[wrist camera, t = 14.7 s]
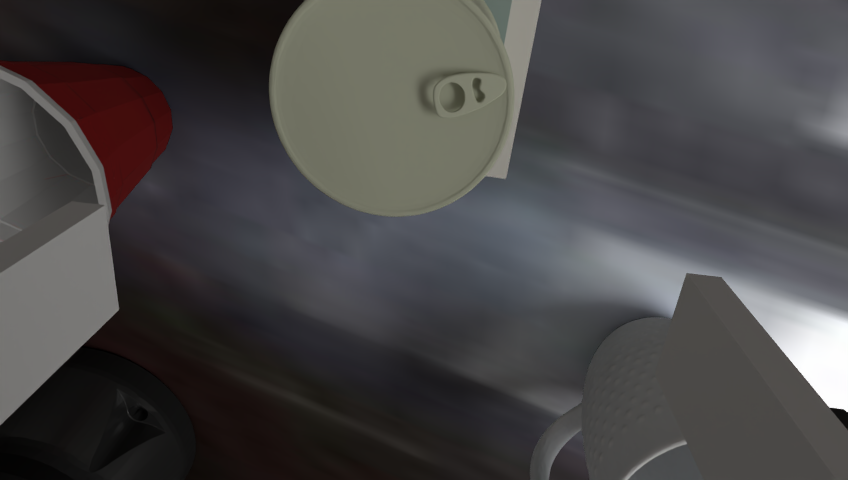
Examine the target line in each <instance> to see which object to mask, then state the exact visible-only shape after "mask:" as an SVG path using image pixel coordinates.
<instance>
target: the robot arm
mask: <svg viewBox="0 0 848 480" xmlns="http://www.w3.org/2000/svg"><path fill="white" fill-rule="evenodd" d="M118 310H119V305H118V298H117V290H116V283H115V275H114V268H113V260H112V253H111V245H110V238H109V230H108V223H107V216H106V208H105V205H100V204H91V203H82V202H74V201H71V202H70V203H68V204H66V205H65V206H63V207H61V208H59V209H58V210H56V211H54V212H53V213H51V214H49V215H48V216H46V217H44V218H42V219H41V220H39V221H37V222H36V223H34V224H32V225H30V226H29V227H27V228H25V229H24V230H22V231H20V232H18V233H17V234H15V235H13V236H12V237H10V238H8V239H6V240H5V241H3V242H1V243H0V480H184V479H185V477H186V476H187V474H188V472H189V470H190V469H191V466H192V464H193V461H194V457H195V451H196V440H195V434H194V430H193V426H192V423H191V421H190V418H189V416H188V414H187V412H186V411H185V409H184V407H183V406H182V404H181V403H180V401H179V400H178V399H177V397H176V396H175V395H174V394H173V393H172V392H171V391H170V390H169V389H168V388H167V387H166V386H165V385H164V384H163V383H162V382H161V381H160V380H158V379H157V378H156V377H155V376H153V375H152V374H151V373H149V372H148V371H146V370H145V369H143V368H141V367H140V366H138V365H136V364H134V363H132V362H130V361H128V360H126V359H124V358H121V357H119V356H116V355H113V354H110V353H107V352H104V351H99V350H95V349H89V348H80V347H81V346H82V345H83V344H84V343H85V342H86V341H87V340H88V339H89V338H90V337H91V336H92V335H93V334H95V333H96V332H97V331H98V330H99V329H100V328H101V327H102V326H103V325H104V324H105V323H106V322H107V321H108V320H109V319H110V318H111V317H112V316H113V315H114V314H115V313H116V312H117V311H118ZM655 376H656V378H657V380H658V382H659V385H660V387H661V389H662V391H663V393H664V395H665V398H666V400H667V402H668V404H669V406H670V408H671V410H672V413H673V415H674V417H675V419H676V421H677V423H678V426H679V428H680V430H681V432H682V434H683V436H684V438H685V441H686V443H687V445H688V447H689V449H690V451H691V454H692V456H693V458H694V460H695V462H696V464H697V467H698V469H699V471H700V473H701V475H702V477H703V479H704V480H848V412H846V411H845V410H844V409H836V408H829V407H828V406H827V404H826V403H825V402H824V401H823V400H822V398H821V397H820V396H819V395H818V394H817V392H816V391H815V390H814V389H813V388H812V386H811V385H810V384H809V383H808V382H807V380H806V379H805V378H804V377H803V375H802V374H801V373H800V372H799V371H798V369H797V368H796V367H795V366H794V365H793V363H792V362H791V361H790V360H789V359H788V357H787V356H786V355H785V354H784V352H783V351H782V350H781V349H780V348H779V346H778V345H777V344H776V343H775V342H774V340H773V339H772V338H771V337H770V336H769V334H768V333H767V332H766V331H765V329H764V328H763V327H762V326H761V325H760V323H759V322H758V321H757V320H756V319H755V317H754V316H753V315H752V314H751V313H750V311H749V310H748V309H747V308H746V307H745V305H744V304H743V303H742V302H741V300H740V299H739V298H738V297H737V296H736V294H735V293H734V292H733V291H732V290H731V288H730V287H729V286H728V285H727V284H726V282H725V281H724V280H723V279H722V277H715V276H706V275H698V274H689V273H687V274H686V277H685V280H684V283H683V286H682V289H681V293H680V296H679V299H678V302H677V305H676V308H675V311H674V315H673V318H672V321H671V324H670V327H669V330H668V334H667V337H666V340H665V343H664V346H663V349H662V352H661V356H660V359H659V362H658V365H657V368H656V371H655Z"/></svg>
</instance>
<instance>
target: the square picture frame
mask: <svg viewBox="0 0 848 480" xmlns="http://www.w3.org/2000/svg"><path fill="white" fill-rule="evenodd" d="M484 1H485V3H486V4H487V6H488V7H489V9H490V11H491V12H492V14H493V16H494V19H495V21H496V23H497V26H498V30H499V33H500V38H501V40H502V42H503V44H504V46H505V49H506V52H507V54H508V57H509V61H510V64H511V68H512V73H513V79H514V113H513V119H512V124H511V128H510V131H509V135H508V138H507V140H506V143H505V145H504V148H503V150H502V152H501V154H500V156H499V157H498V159H497V161H496V162H495V164H494V165H493V167H492V168H491V170H490V171H489V172H488V173H487V174H486V176H489V177H496V178H503V179H506V176H507V171H508V166H509V161H510V156H511V151H512V146H513V141H514V136H515V131H516V126H517V121H518V116H519V111H520V106H521V100H522V95H523V90H524V85H525V80H526V75H527V70H528V65H529V60H530V55H531V50H532V45H533V40H534V35H535V30H536V25H537V20H538V15H539V10H540V5H541V0H484Z"/></svg>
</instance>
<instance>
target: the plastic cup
mask: <svg viewBox="0 0 848 480" xmlns="http://www.w3.org/2000/svg"><path fill="white" fill-rule="evenodd" d="M172 129H173V127H172V117H171V109H170V107H169V105H168V103H167V101H166V99H165V97H164V95H163V93H162V91H161V90H160V89H159V88H158V87H157V86H156V85H155V84H154V83H153V82H152V81H151V80H150V79H149V78H148V77H146V76H144V75H142V74H140V73H138V72H136V71H134V70H132V69H130V68H126V67H124V66H115V65H105V64H87V63H77V62H14V61H1V60H0V243H1V242H3V241H5V240H6V239H8V238H10V237H12V236H13V235H15V234H17V233H18V232H20V231H22V230H24V229H25V228H27V227H29V226H30V225H32V224H34V223H36V222H37V221H39V220H41V219H42V218H44V217H46V216H48V215H49V214H51V213H53V212H54V211H56V210H58V209H59V208H61V207H63V206H65V205H66V204H68V203H70V202H71V201H74V202H82V203H91V204H100V205H105V208H106V216H107V223H108V225H109V221H110V219H111V218H112V217H113V215H114V214H115V213H116V209H117V208H118V206H119V205H120V204H121V203H122V202H123V200H124V199H125V198H126V197H127V196H128V194H129V193H130V192H131V191H132V190H133V189H134V187H135V186H136V185H137V184H138V183H139V181H140V180H141V179H142V178H143V177H144V175H145V174H146V173H147V172H148V171H149V170H150V168H151V166H152V163H153V162H154V161H155V160H156V159H157V158H158V157H159V156H160V155H161V153H162V152H163V151H164V150H165V149H166V146H167V144H168V141H169V138H170V135H171V132H172Z"/></svg>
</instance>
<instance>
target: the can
mask: <svg viewBox="0 0 848 480" xmlns="http://www.w3.org/2000/svg"><path fill="white" fill-rule="evenodd" d="M269 99H270V107H271V112H272V117H273V122H274V125H275V128H276V131H277V133H278V136H279V138H280V141H281V143H282V145H283V147H284V148H285V150H286V152H287V154H288V156H289V157H290V159H291V160H292V162H293V163H294V164H295V166H296V167H297V168H298V169H299V171H300V172H301V173H302V174H303V175H304V176H305V177H306V178H307V179H308V180H309V181H310V182H311V183H312V184H313V185H314V186H315V187H316V188H318V189H319V190H320V191H322V192H323V193H324V194H326V195H327V196H329V197H330V198H332V199H334V200H336V201H337V202H339V203H341V204H343V205H345V206H348V207H350V208H352V209H355V210H358V211H361V212H365V213H369V214H374V215H380V216H391V217H402V216H412V215H419V214H423V213H427V212H431V211H434V210H436V209H439V208H442V207H444V206H446V205H448V204H450V203H453V202H454V201H456V200H457V199H459V198H461V197H462V196H464V195H465V194H466V193H468V192H469V191H470V190H471V189H473V188H474V187H475V186H476V185H477V184H478V183H479V182H480V181H481V180H482V179H483V178H484V177H485V176H486V174H487V173H488V172H489V171H490V170H491V168H492V167H493V165H494V164H495V162H496V161H497V159H498V157H499V156H500V154H501V152H502V150H503V148H504V145H505V143H506V140H507V138H508V135H509V131H510V128H511V124H512V119H513V113H514V79H513V73H512V68H511V64H510V61H509V57H508V54H507V52H506V49H505V46H504V44H503V42H502V40H501V38H500V33H499V30H498V26H497V23H496V21H495V19H494V16H493V14H492V12H491V11H490V9H489V7H488V6H487V4H486V3H485V1H484V0H305V1H304V2H303V3H302V4H301V5H300V6H299V7H298V8H297V10H296V11H295V12H294V13H293V15H292V16H291V18H290V19H289V20H288V22H287V24H286V25H285V27H284V29H283V31H282V33H281V35H280V37H279V40H278V42H277V44H276V47H275V50H274V54H273V58H272V63H271V68H270V76H269Z"/></svg>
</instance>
